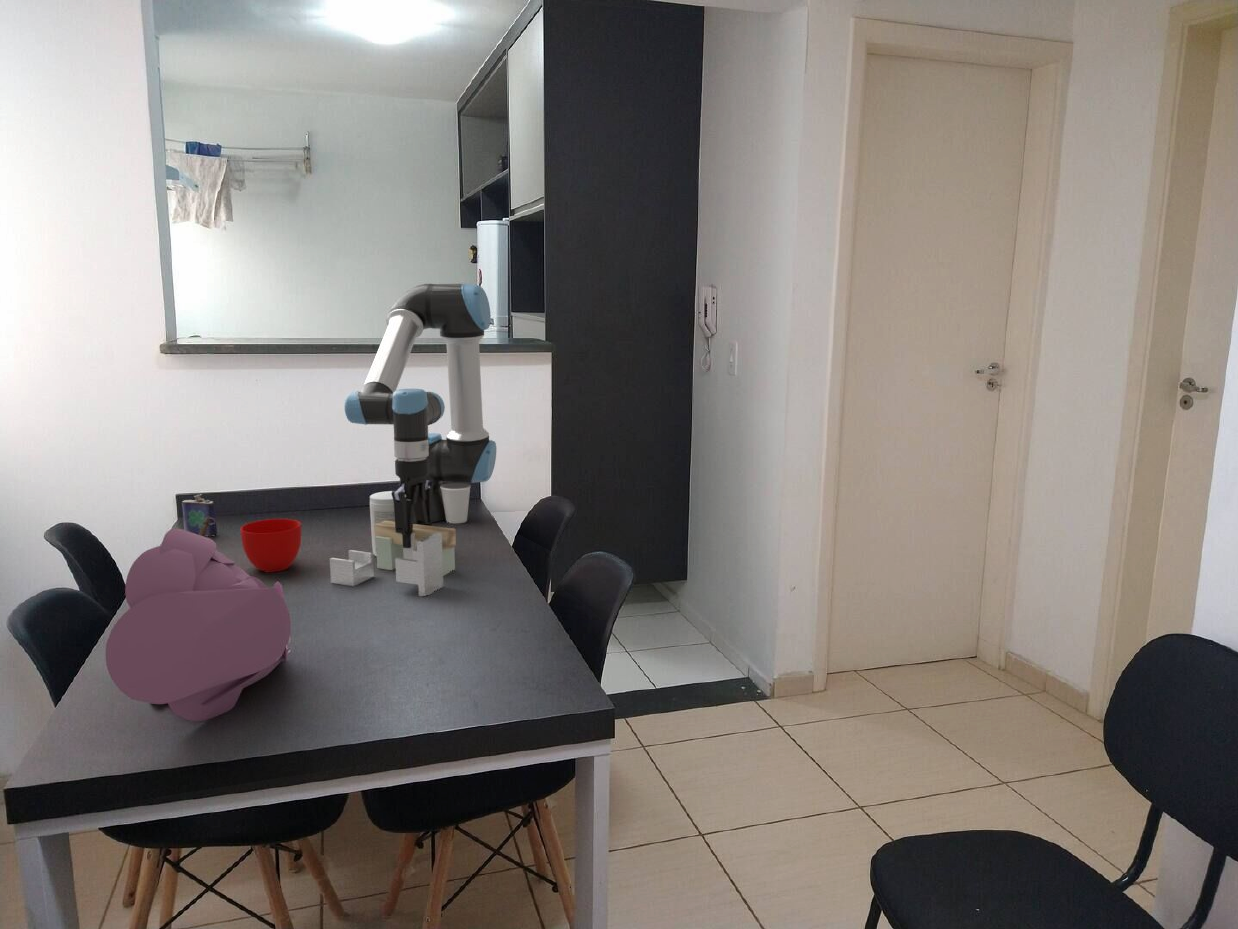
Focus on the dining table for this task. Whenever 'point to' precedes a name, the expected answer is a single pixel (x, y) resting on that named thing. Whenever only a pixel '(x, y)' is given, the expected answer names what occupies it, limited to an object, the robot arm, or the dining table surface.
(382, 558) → the rack
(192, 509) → the flask
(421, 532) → the rail
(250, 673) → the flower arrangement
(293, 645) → the dining table surface
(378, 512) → the supplement tub
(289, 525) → the ceramic cup
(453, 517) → the dixie cup
